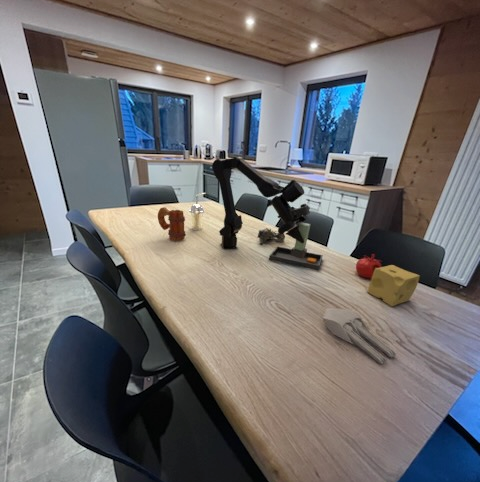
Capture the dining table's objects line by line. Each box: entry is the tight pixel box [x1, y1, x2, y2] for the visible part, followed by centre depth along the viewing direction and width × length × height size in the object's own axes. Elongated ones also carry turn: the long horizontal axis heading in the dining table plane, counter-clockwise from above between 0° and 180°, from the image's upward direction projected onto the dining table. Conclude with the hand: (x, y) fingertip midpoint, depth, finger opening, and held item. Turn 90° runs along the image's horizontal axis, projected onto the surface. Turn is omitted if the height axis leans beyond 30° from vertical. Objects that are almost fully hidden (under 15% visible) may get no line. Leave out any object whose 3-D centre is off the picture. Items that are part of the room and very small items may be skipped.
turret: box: [322, 307, 396, 365], centre depth 71 cm, size 10×20×5 cm, turn 34°
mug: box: [157, 206, 187, 242], centre depth 130 cm, size 15×8×15 cm, turn 71°
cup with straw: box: [188, 192, 207, 231], centre depth 146 cm, size 8×9×20 cm
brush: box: [291, 221, 311, 259], centre depth 107 cm, size 5×5×14 cm
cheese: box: [367, 264, 421, 307], centre depth 92 cm, size 10×11×10 cm
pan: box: [268, 246, 324, 271], centre depth 117 cm, size 21×13×3 cm, turn 68°
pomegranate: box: [355, 253, 383, 280], centre depth 107 cm, size 10×10×9 cm
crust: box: [307, 257, 316, 264], centre depth 115 cm, size 4×4×2 cm
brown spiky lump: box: [257, 227, 286, 246], centre depth 137 cm, size 12×11×15 cm
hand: (304, 241), depth 107 cm, fingers closed on brush, 3 cm apart
